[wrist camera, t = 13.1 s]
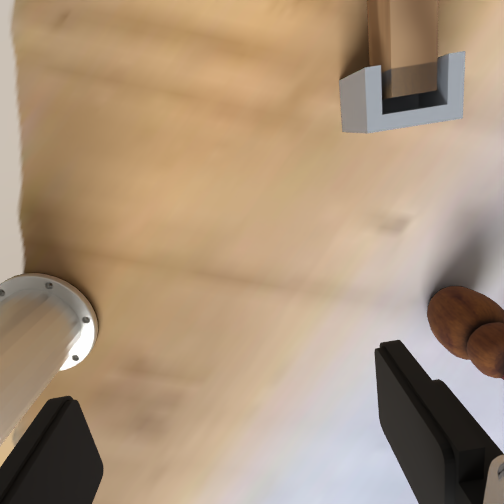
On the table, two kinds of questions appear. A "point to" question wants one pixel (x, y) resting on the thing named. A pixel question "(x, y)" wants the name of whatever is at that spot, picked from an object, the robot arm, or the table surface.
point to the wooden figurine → (469, 327)
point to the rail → (404, 45)
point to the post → (401, 99)
